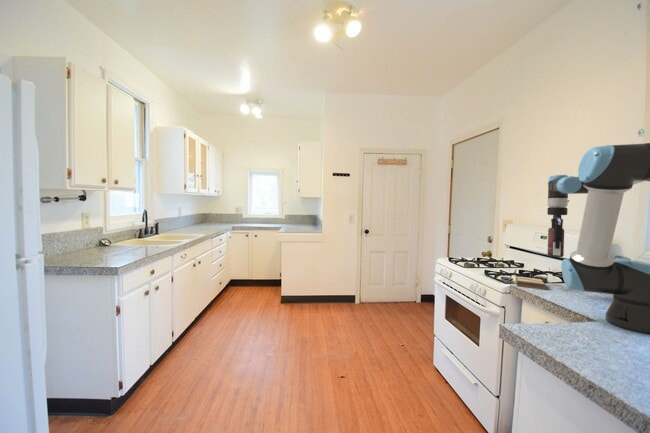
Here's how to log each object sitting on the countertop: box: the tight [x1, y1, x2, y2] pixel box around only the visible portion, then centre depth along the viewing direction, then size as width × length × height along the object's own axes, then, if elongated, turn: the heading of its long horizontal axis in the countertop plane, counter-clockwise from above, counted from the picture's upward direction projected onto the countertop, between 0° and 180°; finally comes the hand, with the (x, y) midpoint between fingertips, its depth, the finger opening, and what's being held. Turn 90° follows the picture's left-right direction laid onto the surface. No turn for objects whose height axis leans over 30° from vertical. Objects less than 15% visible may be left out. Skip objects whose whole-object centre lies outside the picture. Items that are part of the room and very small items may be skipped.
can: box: [547, 227, 565, 258], centre depth 137 cm, size 6×6×14 cm
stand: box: [515, 276, 546, 291], centre depth 151 cm, size 12×12×3 cm
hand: (555, 254), depth 136 cm, fingers open, 3 cm apart
